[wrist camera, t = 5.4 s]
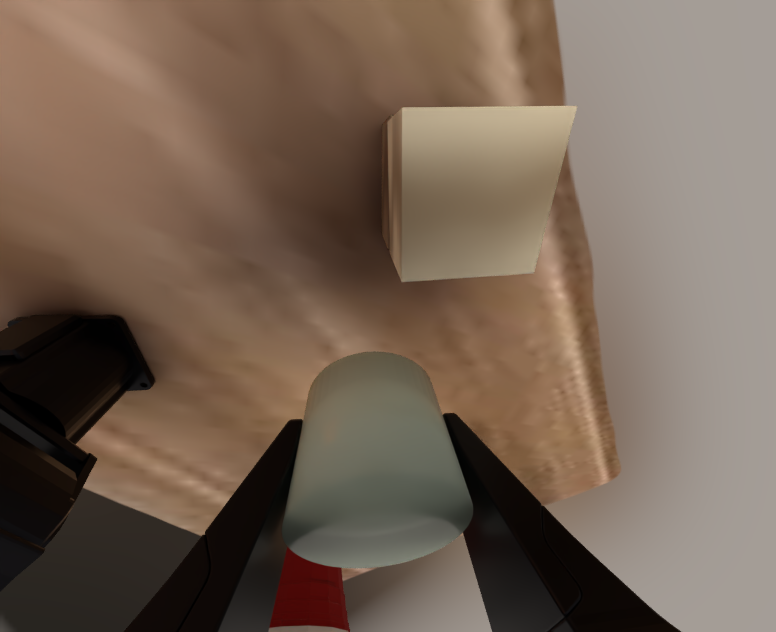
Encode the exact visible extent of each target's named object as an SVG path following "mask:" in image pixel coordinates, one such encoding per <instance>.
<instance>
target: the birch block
mask: <svg viewBox="0 0 776 632" xmlns="http://www.w3.org/2000/svg"><path fill="white" fill-rule="evenodd" d="M576 109H577V106H515V107H402V108H401V109H400V110H399V111H398V112H397V113H396V114H395V115H394V116H393V117H392V118H391V119H390V120H389V121H388V122H387V124H388V178H389V231H390V255H391V258H392V260H393V263H394V265H395V267H396V270H397V272H398V275H399V277H400V280H401V282H411V281H426V280H441V279H455V278H470V277H485V276H500V275H514V274H529V273H534V270H535V267H536V263H537V259H538V255H539V251H540V247H541V243H542V240H543V236H544V232H545V228H546V224H547V220H548V217H549V213H550V209H551V205H552V201H553V197H554V194H555V190H556V186H557V182H558V178H559V174H560V171H561V167H562V163H563V159H564V155H565V151H566V147H567V144H568V140H569V136H570V132H571V128H572V124H573V121H574V117H575V113H576Z"/></svg>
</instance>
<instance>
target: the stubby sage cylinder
mask: <svg viewBox="0 0 776 632" xmlns="http://www.w3.org/2000/svg"><path fill="white" fill-rule="evenodd" d="M472 516H473V504H472V500H471V497H470V494H469V491H468V489H467V486H466V483H465V480H464V477H463V474H462V471H461V468H460V465H459V462H458V459H457V456H456V453H455V450H454V447H453V444H452V441H451V438H450V435H449V432H448V429H447V426H446V423H445V421H444V418H443V415H442V412H441V409H440V406H439V403H438V400H437V397H436V394H435V391H434V388H433V385H432V382H431V380H430V378H429V376H428V375H427V373H426V372H425V371H424V370H423V369H422V368H421V367H420V366H419V365H418V364H416V363H415V362H414V361H412V360H410V359H408V358H406V357H403V356H401V355H397V354H393V353H387V352H363V353H358V354H353V355H350V356H347V357H344V358H342V359H339V360H337V361H336V362H334V363H332V364H330V365H329V366H328V367H326V368H325V369H324V370H323V371H322V372H320V373H319V375H318V376H317V377H316V378H315V380H314V381H313V383H312V385H311V387H310V390H309V394H308V399H307V404H306V409H305V414H304V419H303V424H302V429H301V434H300V439H299V444H298V449H297V454H296V459H295V464H294V469H293V474H292V479H291V484H290V489H289V494H288V499H287V504H286V509H285V514H284V519H283V524H282V537H283V540H284V542H285V544H286V545H287V546H288V548H289V549H290V550H292V551H293V552H294V553H295V554H297V555H298V556H300V557H302V558H304V559H306V560H309V561H311V562H314V563H318V564H322V565H326V566H332V567H340V568H373V567H382V566H389V565H394V564H399V563H403V562H407V561H411V560H414V559H417V558H420V557H423V556H425V555H428V554H430V553H432V552H435V551H437V550H439V549H440V548H442V547H444V546H446V545H447V544H449V543H451V542H452V541H453V540H455V539H456V538H457V537H458V536H459V535H460V534H461V533H463V532H464V530H465V529H466V528H467V526H468V525H469V523H470V521H471V519H472Z"/></svg>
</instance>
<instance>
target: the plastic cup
mask: <svg viewBox="0 0 776 632" xmlns="http://www.w3.org/2000/svg"><path fill="white" fill-rule="evenodd" d="M268 632H350V629H349V623H348V620H347V611H346V607H345V595H344V592H343V582H342V571H341V568H340V567H332V566H326V565H322V564H318V563H314V562H311V561H309V560H306V559H304V558H302V557H300V556H298V555H297V554H295V553H294V552H293V551H292V550H290V549H289V548H288V546H287V550H286V555H285V559H284V564H283V568H282V573H281V577H280V582H279V586H278V591H277V595H276V600H275V604H274V608H273V613H272V617H271V622H270V626H269V631H268Z"/></svg>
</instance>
